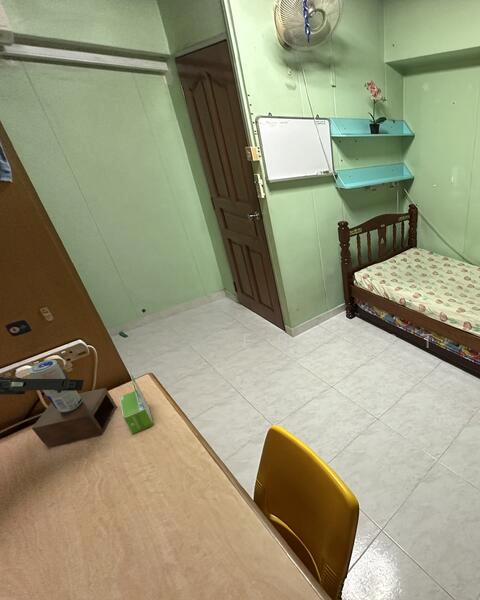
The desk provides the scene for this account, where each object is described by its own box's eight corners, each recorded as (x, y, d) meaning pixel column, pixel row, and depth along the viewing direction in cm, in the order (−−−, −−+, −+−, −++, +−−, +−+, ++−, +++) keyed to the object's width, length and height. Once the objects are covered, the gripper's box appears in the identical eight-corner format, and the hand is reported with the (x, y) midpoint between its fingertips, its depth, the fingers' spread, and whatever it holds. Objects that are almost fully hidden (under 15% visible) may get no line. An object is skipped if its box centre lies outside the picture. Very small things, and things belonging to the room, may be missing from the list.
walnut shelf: (47, 448, 85) (31, 428, 81) (68, 417, 94) (54, 398, 90) (102, 434, 88) (89, 415, 85) (117, 406, 97) (105, 387, 93)
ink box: (128, 413, 95) (108, 379, 88) (149, 404, 98) (131, 370, 92) (132, 435, 89) (110, 399, 82) (154, 424, 92) (136, 390, 85)
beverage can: (82, 396, 90) (55, 356, 83) (84, 406, 87) (56, 365, 80) (58, 406, 87) (28, 365, 80) (58, 417, 84) (27, 375, 77)
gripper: (-132, 410, 60) (-5, 405, 80) (13, 401, 62) (101, 398, 83) (-117, 371, 62) (3, 375, 82) (23, 363, 64) (106, 369, 85)
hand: (53, 387), depth 82 cm, fingers open, 13 cm apart
